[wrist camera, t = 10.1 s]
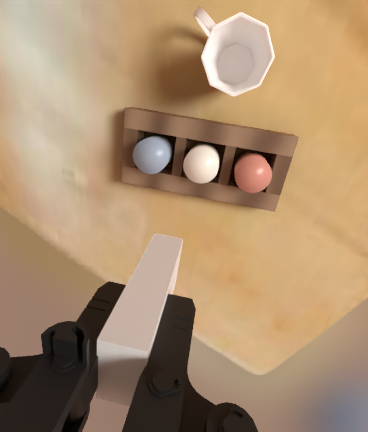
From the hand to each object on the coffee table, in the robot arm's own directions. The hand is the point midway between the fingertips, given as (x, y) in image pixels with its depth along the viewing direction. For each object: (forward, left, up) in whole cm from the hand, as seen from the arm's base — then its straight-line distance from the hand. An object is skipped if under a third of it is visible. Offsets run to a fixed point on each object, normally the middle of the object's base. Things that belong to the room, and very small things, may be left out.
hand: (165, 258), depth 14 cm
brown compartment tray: (0, 0, -26) cm, 26 cm away
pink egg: (+5, +5, -25) cm, 26 cm away
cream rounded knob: (0, 0, -25) cm, 25 cm away
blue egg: (-5, -5, -25) cm, 26 cm away
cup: (-9, +9, -27) cm, 29 cm away
